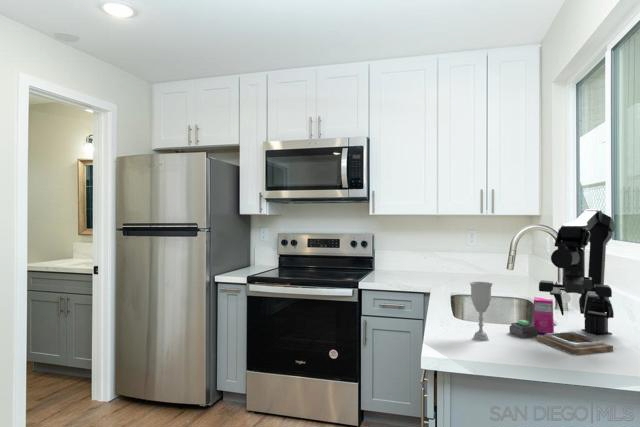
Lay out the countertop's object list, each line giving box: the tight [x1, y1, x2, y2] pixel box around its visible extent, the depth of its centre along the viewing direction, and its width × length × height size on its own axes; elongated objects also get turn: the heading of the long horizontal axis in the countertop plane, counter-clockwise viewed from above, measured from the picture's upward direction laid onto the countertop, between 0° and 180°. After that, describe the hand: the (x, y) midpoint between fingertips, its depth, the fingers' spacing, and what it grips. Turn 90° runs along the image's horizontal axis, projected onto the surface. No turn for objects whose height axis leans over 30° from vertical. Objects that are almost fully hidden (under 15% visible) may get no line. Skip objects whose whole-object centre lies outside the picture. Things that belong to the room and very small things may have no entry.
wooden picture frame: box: [536, 330, 614, 355], centre depth 125 cm, size 14×14×2 cm
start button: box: [517, 319, 530, 326], centre depth 136 cm, size 3×3×1 cm
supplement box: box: [533, 296, 555, 335], centre depth 139 cm, size 6×6×12 cm
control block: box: [509, 322, 539, 339], centre depth 136 cm, size 6×6×4 cm
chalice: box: [469, 281, 493, 342], centre depth 131 cm, size 7×7×18 cm
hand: (573, 316), depth 125 cm, fingers open, 5 cm apart
